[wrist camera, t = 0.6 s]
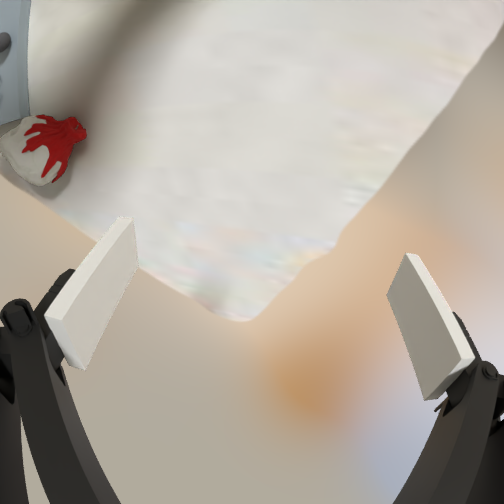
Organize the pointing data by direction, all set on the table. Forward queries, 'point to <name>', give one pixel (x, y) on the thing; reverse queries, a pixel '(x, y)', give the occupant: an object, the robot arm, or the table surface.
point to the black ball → (4, 41)
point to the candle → (41, 147)
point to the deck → (14, 61)
